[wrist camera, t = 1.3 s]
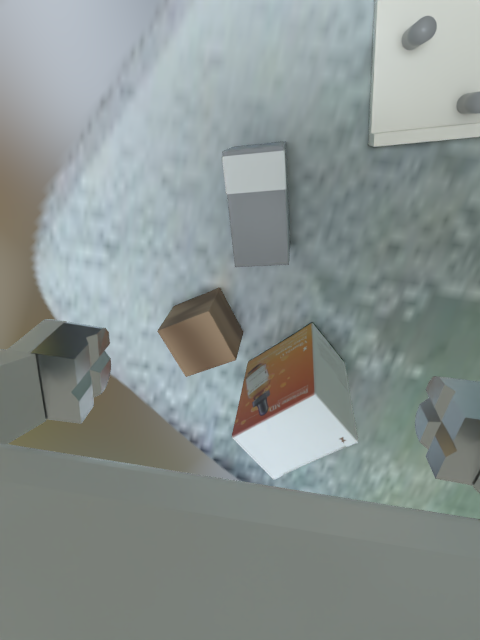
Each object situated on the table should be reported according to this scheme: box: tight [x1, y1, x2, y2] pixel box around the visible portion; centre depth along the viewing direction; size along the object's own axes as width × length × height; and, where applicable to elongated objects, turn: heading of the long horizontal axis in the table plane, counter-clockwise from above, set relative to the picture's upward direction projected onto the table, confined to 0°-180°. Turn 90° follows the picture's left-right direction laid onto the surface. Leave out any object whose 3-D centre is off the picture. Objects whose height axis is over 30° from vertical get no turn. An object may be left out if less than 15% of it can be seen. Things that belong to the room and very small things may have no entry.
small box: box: [232, 323, 358, 479], centre depth 33 cm, size 8×6×10 cm
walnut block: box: [158, 288, 243, 377], centre depth 35 cm, size 5×5×5 cm
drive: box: [222, 141, 290, 267], centre depth 29 cm, size 4×8×5 cm, turn 5°
